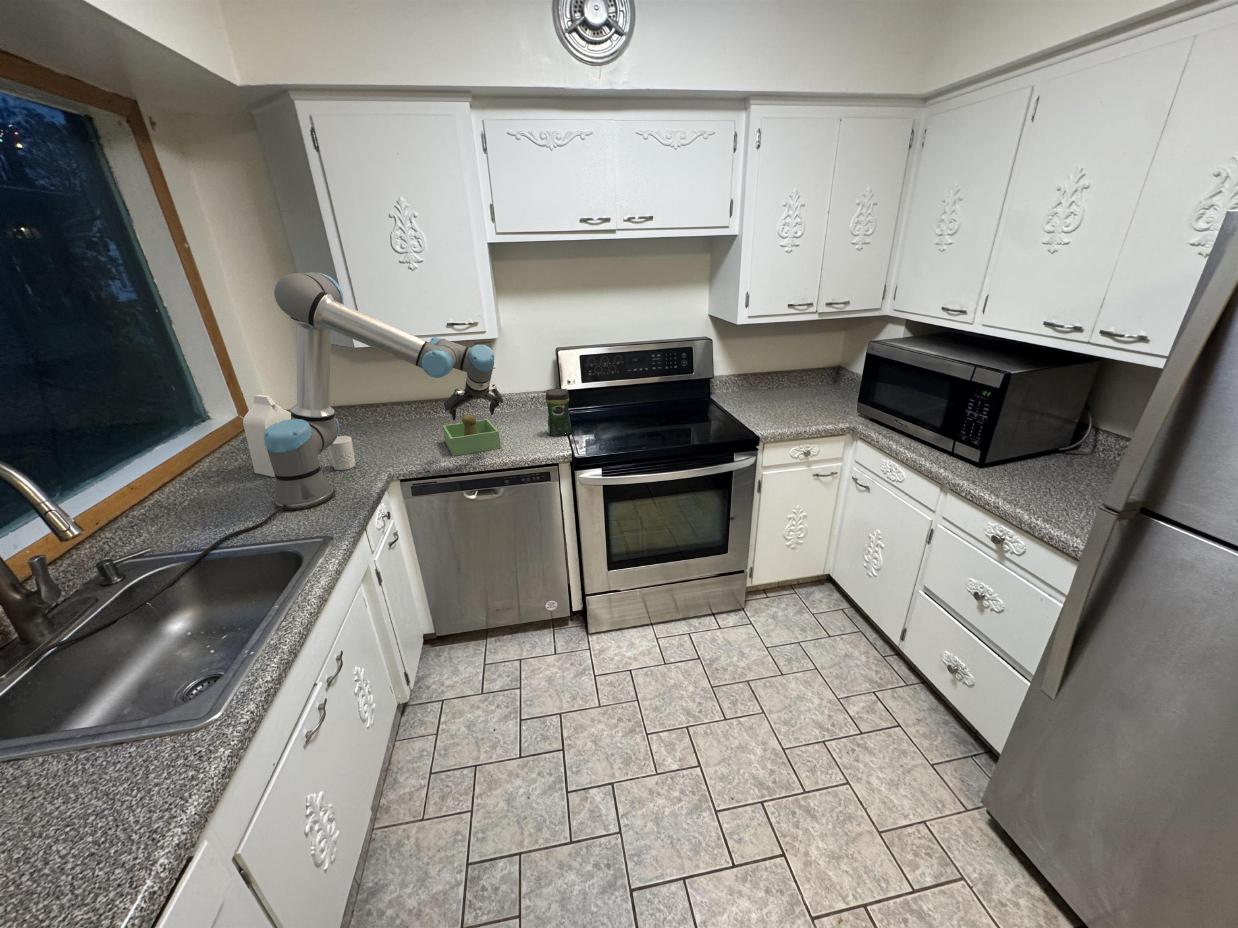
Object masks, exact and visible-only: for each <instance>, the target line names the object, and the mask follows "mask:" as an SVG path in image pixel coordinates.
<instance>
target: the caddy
mask: <svg viewBox="0 0 1238 928" xmlns="http://www.w3.org/2000/svg"><path fill="white" fill-rule="evenodd" d="M475 425H476V429H477V432H478V434H474V435H467V436H464V424H463V422H457V423H451V424H443V425H442V431H443V439H444V442H445V444H446V446H447V448H448V450H449V452H450V453H451V456H453V457H456V456H463V455H467V454H473V453H474V454H475V453H480V452H481V453H482V452H487V451H491V450H497V449H498V450H499V449H501V440H500V431H499V430H498V428H497V427H495V425H494V424H493V423H492V421H490V420H489V419H488V418H486V419H485V418H484V419H479V420H476V423H475Z"/></svg>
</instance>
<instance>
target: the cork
mask: <svg viewBox="0 0 1238 928" xmlns="http://www.w3.org/2000/svg"><path fill="white" fill-rule="evenodd" d="M461 421H462V422H461V423H463V424H464V436H467V435H474V434H478V432H477V429H476V425H475V423H476V421H477V418H476V416H475V415H474V414H466V415H464V416H462V419H461Z"/></svg>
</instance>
